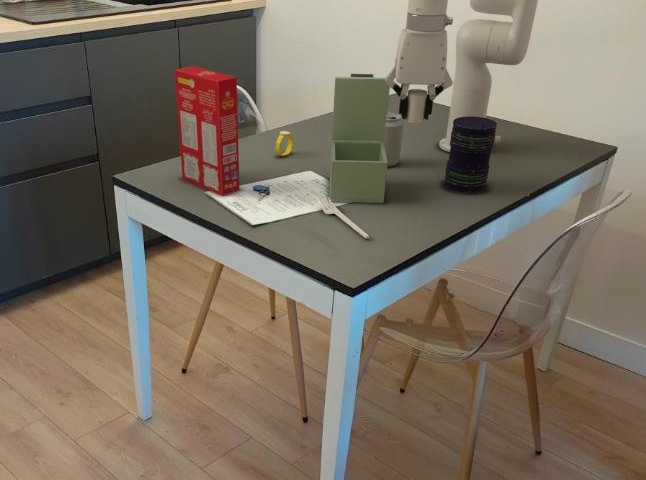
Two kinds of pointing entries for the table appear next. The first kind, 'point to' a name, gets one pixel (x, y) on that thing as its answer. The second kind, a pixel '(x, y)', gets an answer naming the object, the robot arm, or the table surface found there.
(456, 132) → the dark blue disc stack
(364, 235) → the fork
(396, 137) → the can
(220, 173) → the food packaging
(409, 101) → the off-white cylinder
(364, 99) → the box lid
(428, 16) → the robot arm
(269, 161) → the table surface
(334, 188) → the olive green lidded box
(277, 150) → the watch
